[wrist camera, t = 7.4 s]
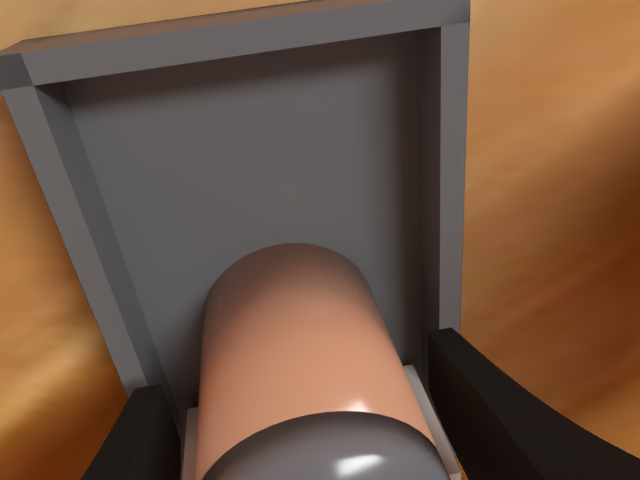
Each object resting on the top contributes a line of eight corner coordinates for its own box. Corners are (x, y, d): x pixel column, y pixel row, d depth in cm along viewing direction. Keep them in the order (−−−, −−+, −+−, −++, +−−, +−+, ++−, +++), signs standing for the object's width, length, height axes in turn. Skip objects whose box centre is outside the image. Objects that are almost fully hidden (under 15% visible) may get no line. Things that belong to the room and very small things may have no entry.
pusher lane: (435, -18, 12) (552, 5, 8) (435, 534, 23) (483, 670, 19) (23, 40, 11) (-101, 99, 7) (226, 582, 22) (227, 734, 18)
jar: (367, 229, 14) (469, 432, 8) (376, 363, 17) (459, 593, 11) (185, 260, 14) (155, 496, 8) (222, 392, 17) (220, 649, 11)
